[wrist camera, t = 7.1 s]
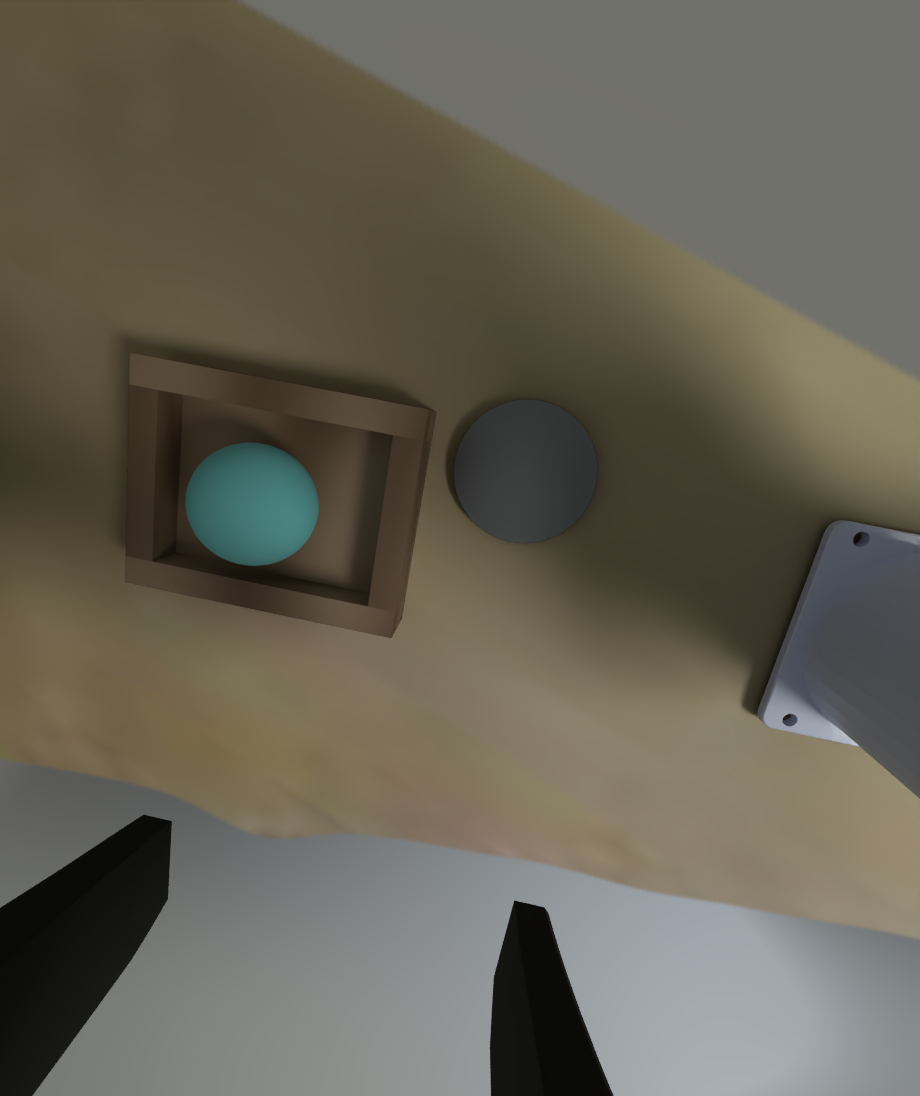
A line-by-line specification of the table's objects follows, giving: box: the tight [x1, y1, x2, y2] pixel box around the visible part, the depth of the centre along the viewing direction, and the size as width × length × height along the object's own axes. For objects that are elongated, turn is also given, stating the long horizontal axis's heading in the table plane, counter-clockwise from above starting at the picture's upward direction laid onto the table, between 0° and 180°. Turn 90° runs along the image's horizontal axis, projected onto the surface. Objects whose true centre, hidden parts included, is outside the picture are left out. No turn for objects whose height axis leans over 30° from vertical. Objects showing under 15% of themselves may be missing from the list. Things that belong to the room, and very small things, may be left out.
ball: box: [185, 443, 319, 566], centre depth 16 cm, size 4×4×4 cm
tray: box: [125, 353, 436, 638], centre depth 17 cm, size 10×8×2 cm
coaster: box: [454, 399, 598, 543], centre depth 17 cm, size 5×5×1 cm
